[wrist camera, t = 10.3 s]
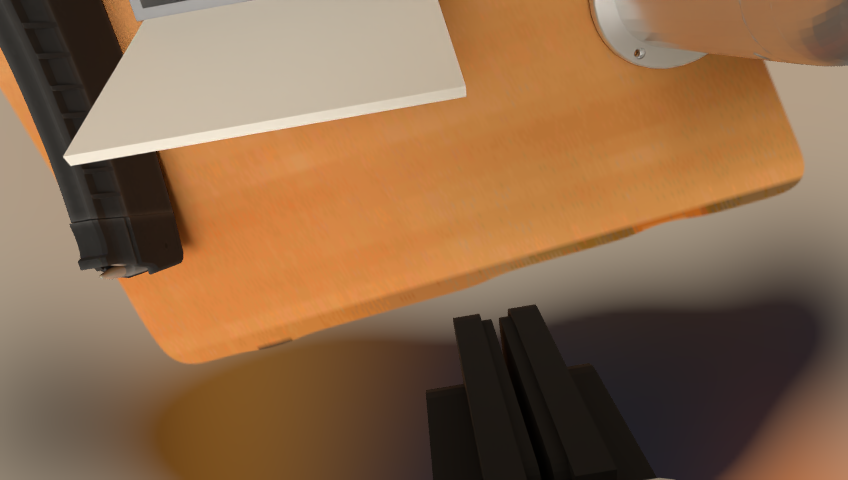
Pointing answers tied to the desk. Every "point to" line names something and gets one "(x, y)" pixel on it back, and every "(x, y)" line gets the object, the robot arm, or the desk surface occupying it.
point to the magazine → (62, 118)
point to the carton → (173, 7)
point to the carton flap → (267, 72)
